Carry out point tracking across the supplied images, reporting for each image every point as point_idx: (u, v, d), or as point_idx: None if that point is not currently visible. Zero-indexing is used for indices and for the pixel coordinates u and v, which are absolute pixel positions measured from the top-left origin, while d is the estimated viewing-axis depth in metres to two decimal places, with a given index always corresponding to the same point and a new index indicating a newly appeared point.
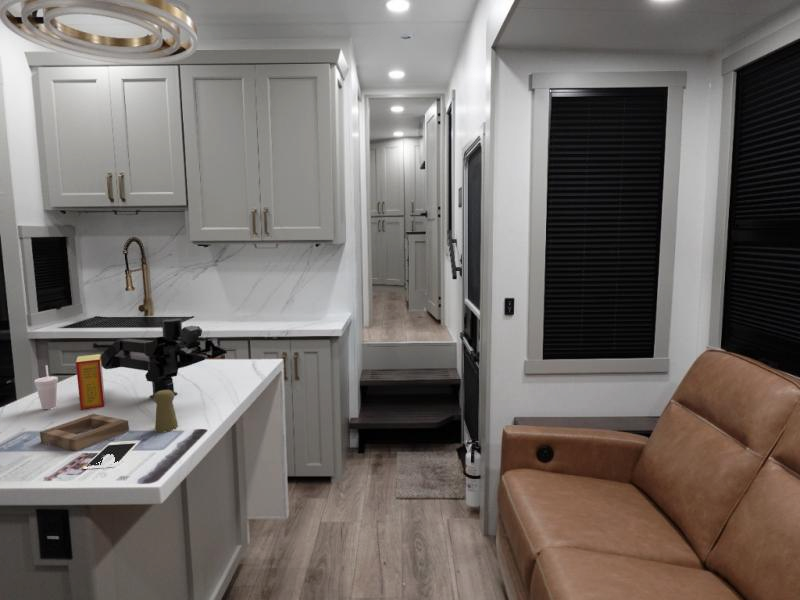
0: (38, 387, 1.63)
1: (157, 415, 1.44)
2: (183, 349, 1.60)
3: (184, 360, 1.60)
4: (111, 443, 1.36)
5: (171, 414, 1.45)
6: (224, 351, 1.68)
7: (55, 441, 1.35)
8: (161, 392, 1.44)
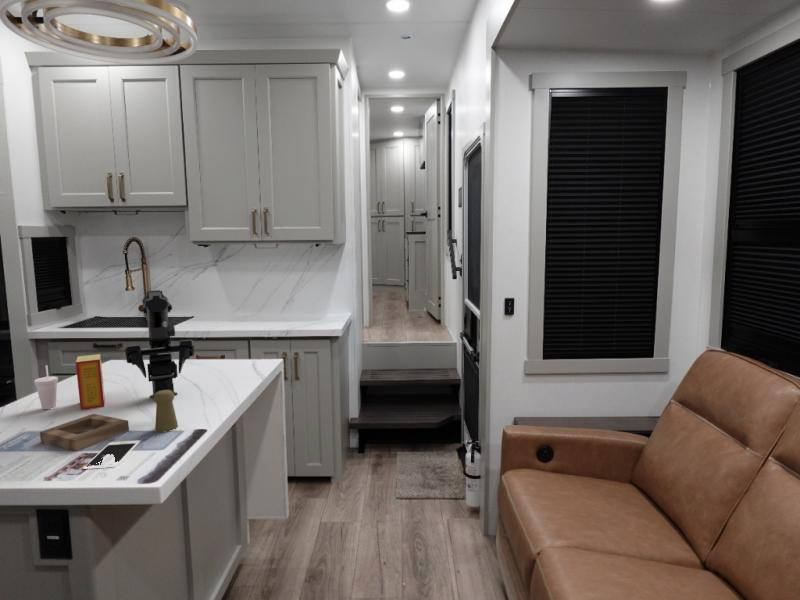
0: (38, 387, 1.63)
1: (157, 415, 1.44)
2: (135, 354, 1.51)
3: (137, 360, 1.53)
4: (111, 443, 1.36)
5: (171, 414, 1.45)
6: None
7: (55, 441, 1.35)
8: (161, 392, 1.44)
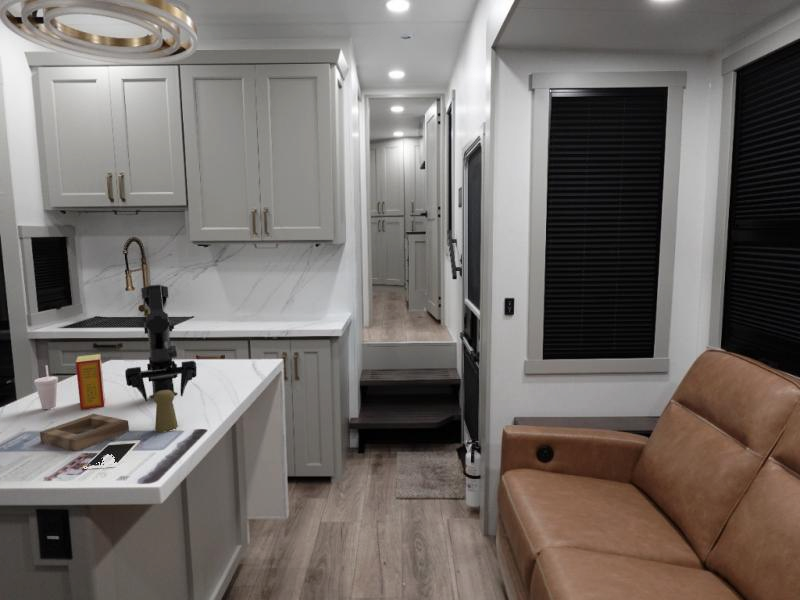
0: (38, 387, 1.63)
1: (157, 415, 1.44)
2: (136, 377, 1.45)
3: (137, 383, 1.48)
4: (111, 443, 1.36)
5: (171, 414, 1.45)
6: None
7: (55, 441, 1.35)
8: (161, 392, 1.44)
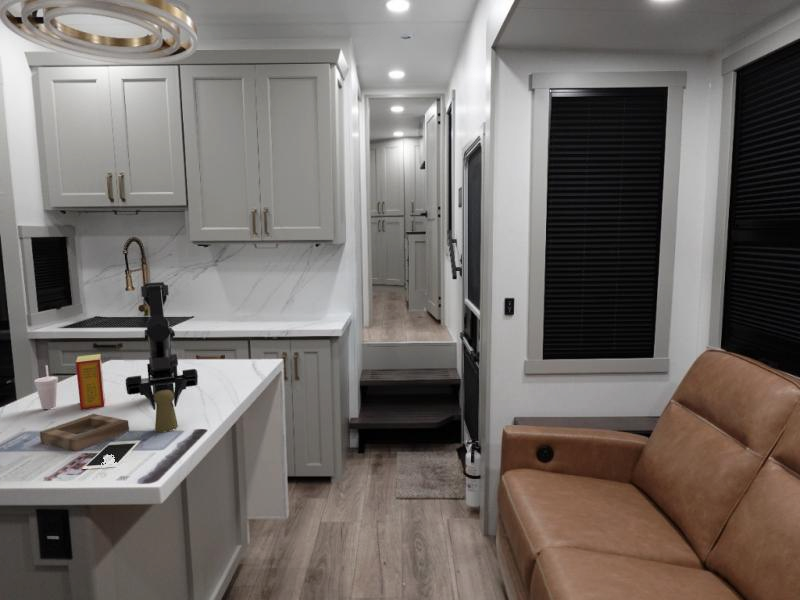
0: (38, 387, 1.63)
1: (157, 415, 1.44)
2: (144, 385, 1.44)
3: (145, 391, 1.47)
4: (111, 443, 1.36)
5: (171, 414, 1.45)
6: (174, 403, 1.46)
7: (55, 441, 1.35)
8: (161, 392, 1.44)
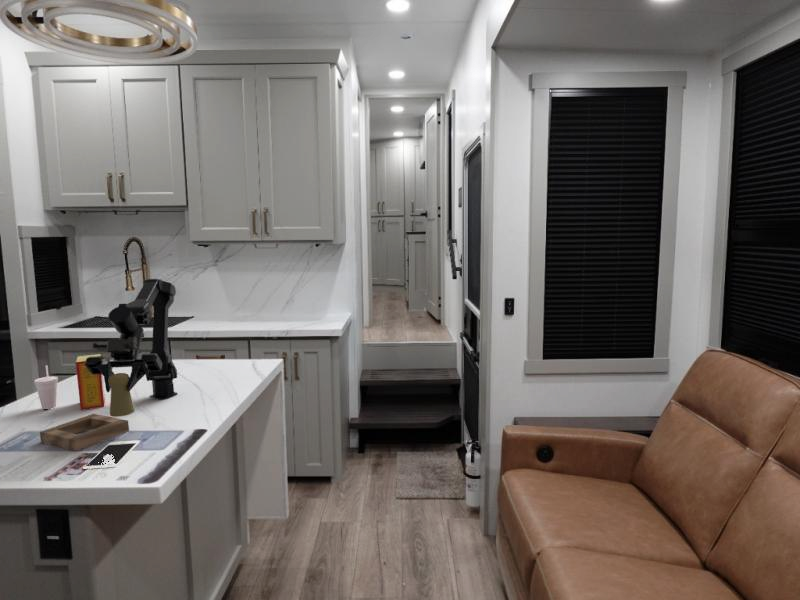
0: (38, 387, 1.63)
1: None
2: (101, 366, 1.41)
3: None
4: (111, 443, 1.36)
5: (123, 399, 1.40)
6: None
7: (55, 441, 1.35)
8: (114, 375, 1.39)
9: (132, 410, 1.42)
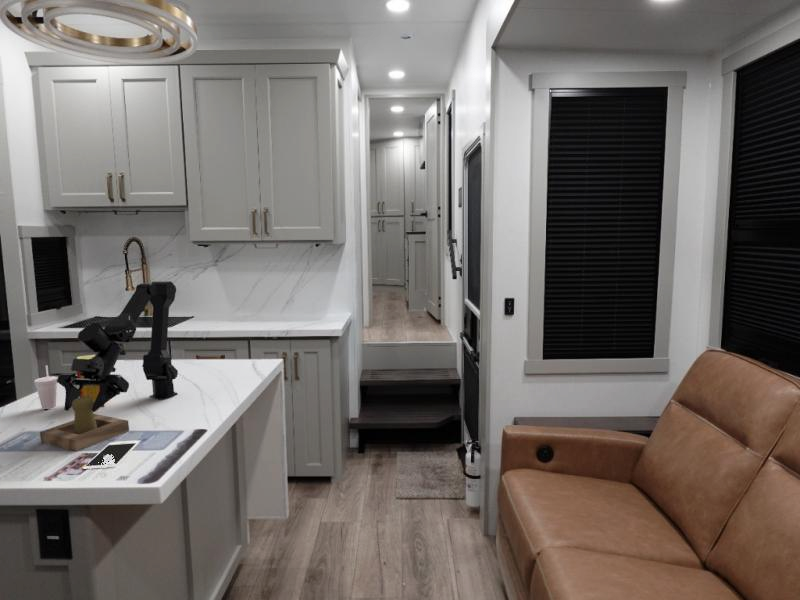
0: (38, 387, 1.63)
1: None
2: (64, 384, 1.42)
3: None
4: (111, 443, 1.36)
5: (84, 423, 1.39)
6: None
7: (55, 441, 1.35)
8: (77, 399, 1.40)
9: None
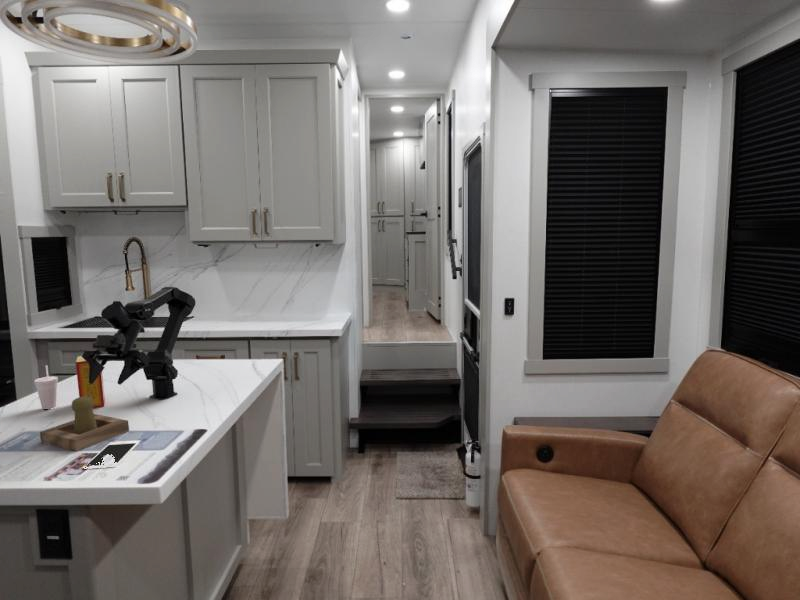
0: (38, 387, 1.63)
1: None
2: (88, 359, 1.51)
3: None
4: (111, 443, 1.36)
5: (84, 423, 1.39)
6: None
7: (55, 441, 1.35)
8: (77, 399, 1.40)
9: None
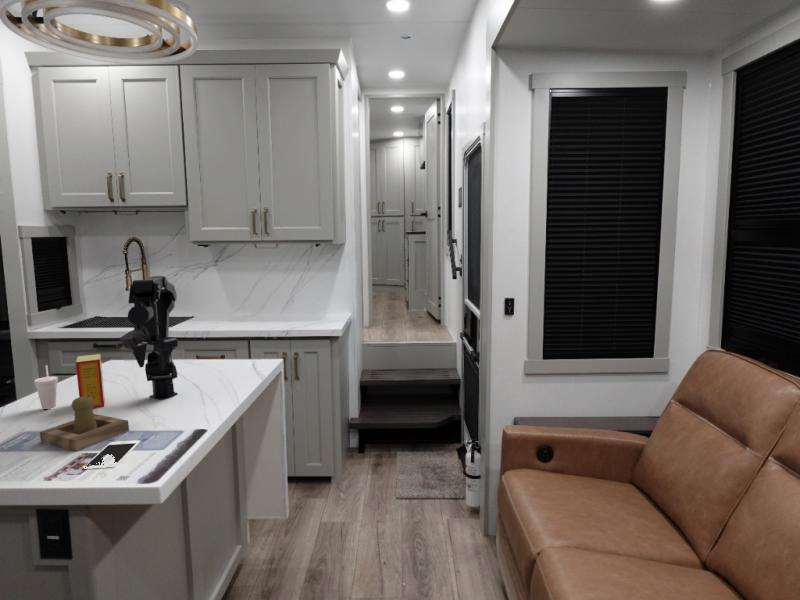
0: (38, 387, 1.63)
1: None
2: (128, 348, 1.62)
3: None
4: (112, 443, 1.36)
5: (84, 423, 1.39)
6: None
7: (55, 441, 1.35)
8: (77, 399, 1.40)
9: None
